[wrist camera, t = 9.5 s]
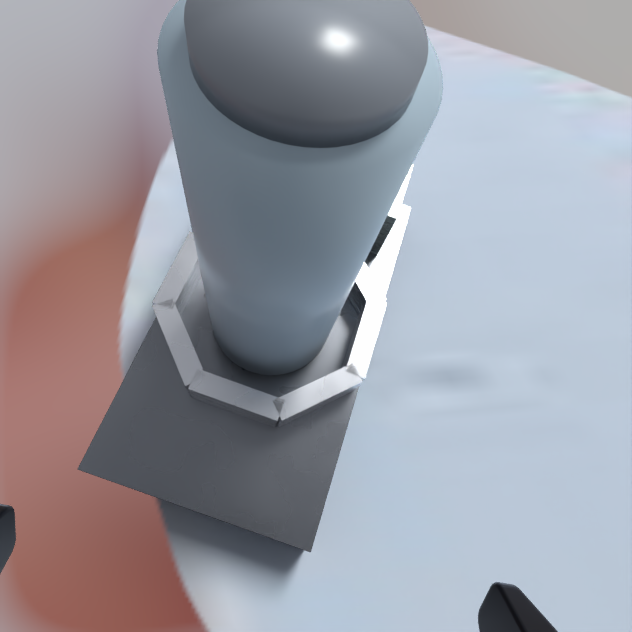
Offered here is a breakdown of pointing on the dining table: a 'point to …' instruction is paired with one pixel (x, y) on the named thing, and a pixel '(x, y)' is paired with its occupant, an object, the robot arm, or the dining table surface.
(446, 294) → the dining table surface
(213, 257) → the grey capped canister
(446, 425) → the dining table surface
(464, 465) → the dining table surface
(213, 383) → the motor mount
